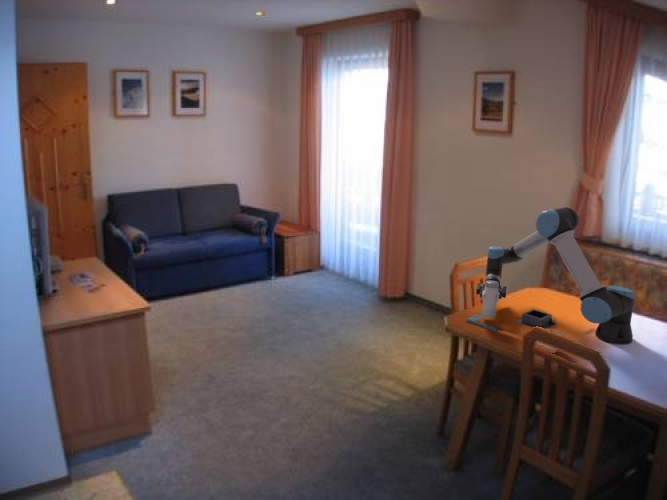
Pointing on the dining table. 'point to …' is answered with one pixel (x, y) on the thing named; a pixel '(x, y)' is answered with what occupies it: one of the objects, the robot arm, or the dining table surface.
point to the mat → (474, 318)
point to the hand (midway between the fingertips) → (490, 298)
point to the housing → (537, 319)
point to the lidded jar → (554, 332)
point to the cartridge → (490, 299)
